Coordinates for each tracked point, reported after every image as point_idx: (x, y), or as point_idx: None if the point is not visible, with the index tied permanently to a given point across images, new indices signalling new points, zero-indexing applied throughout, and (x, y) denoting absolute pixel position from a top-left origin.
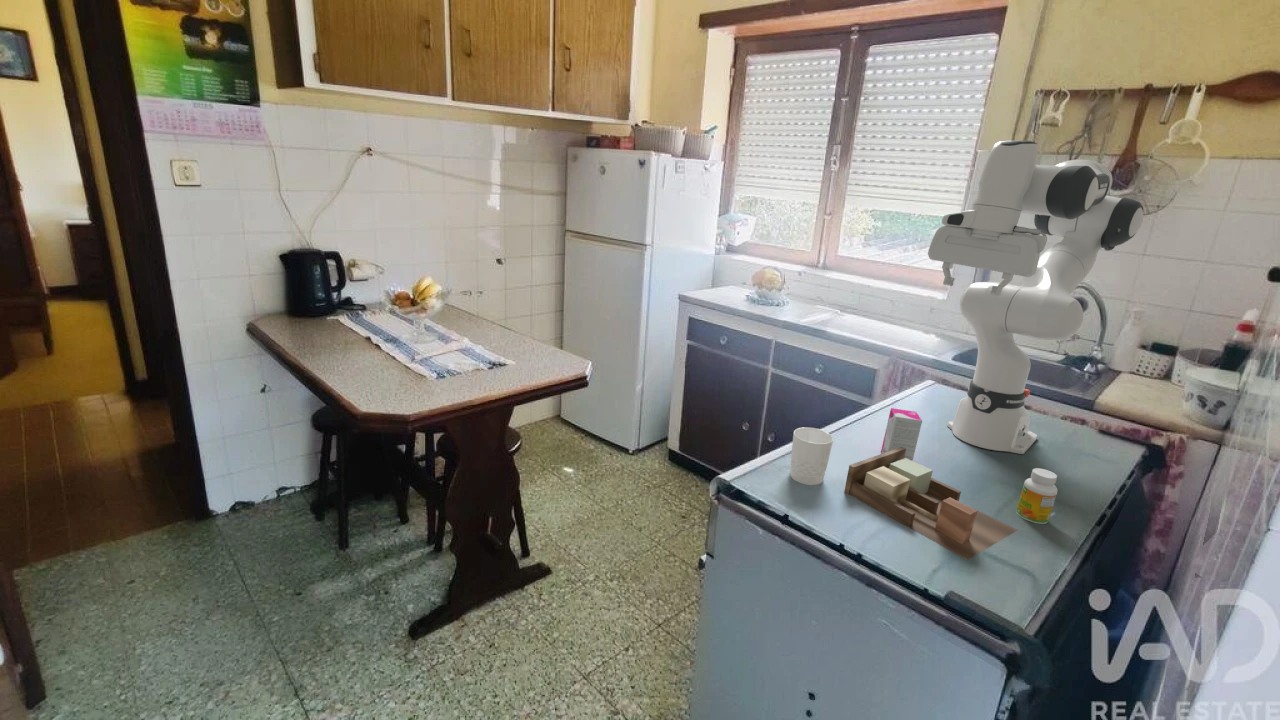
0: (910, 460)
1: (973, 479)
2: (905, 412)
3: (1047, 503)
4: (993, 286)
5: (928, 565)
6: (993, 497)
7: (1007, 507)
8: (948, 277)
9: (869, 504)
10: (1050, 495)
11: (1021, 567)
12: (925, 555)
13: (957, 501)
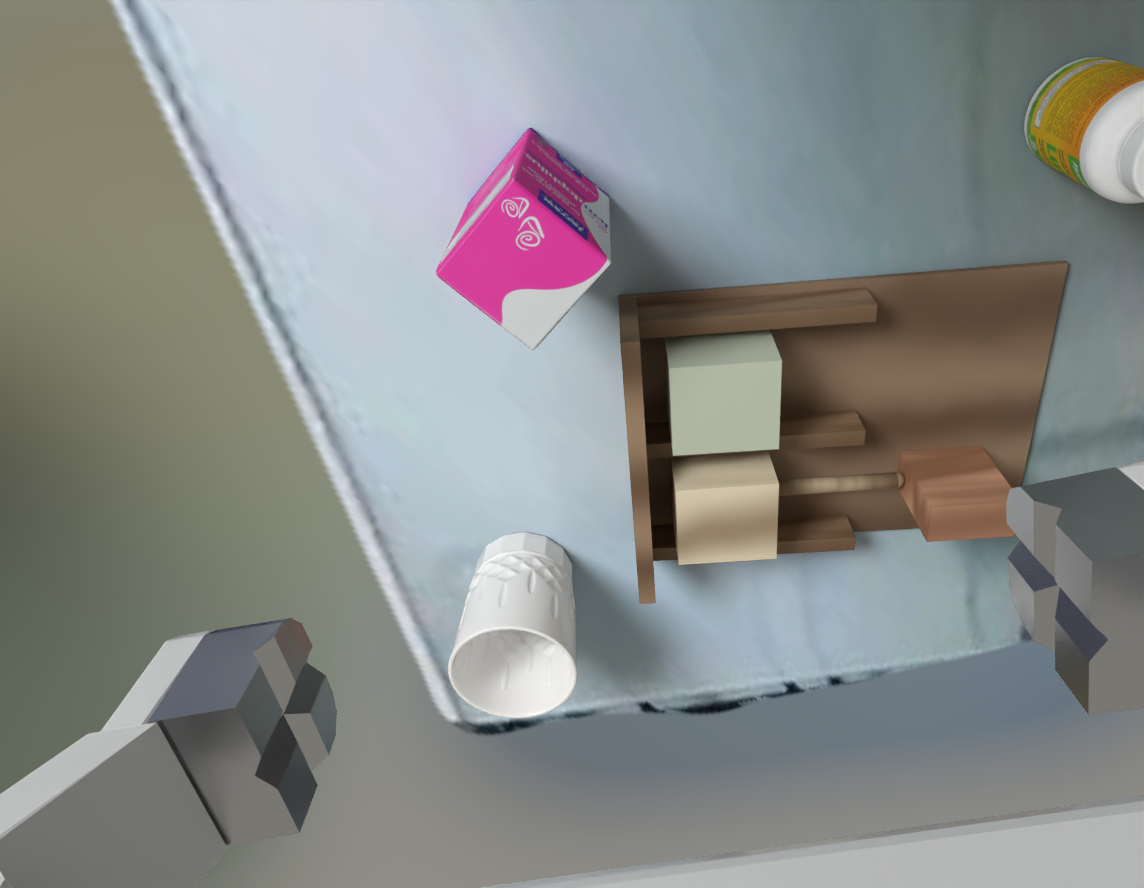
0: (691, 370)
1: (803, 24)
2: (505, 254)
3: None
4: (1102, 701)
5: (952, 597)
6: (923, 100)
7: (988, 125)
8: (245, 838)
9: None
10: None
11: (1122, 422)
12: (929, 575)
13: (958, 507)
